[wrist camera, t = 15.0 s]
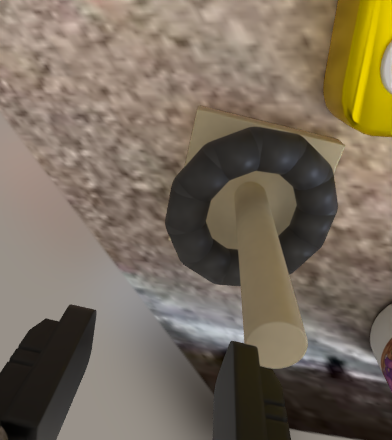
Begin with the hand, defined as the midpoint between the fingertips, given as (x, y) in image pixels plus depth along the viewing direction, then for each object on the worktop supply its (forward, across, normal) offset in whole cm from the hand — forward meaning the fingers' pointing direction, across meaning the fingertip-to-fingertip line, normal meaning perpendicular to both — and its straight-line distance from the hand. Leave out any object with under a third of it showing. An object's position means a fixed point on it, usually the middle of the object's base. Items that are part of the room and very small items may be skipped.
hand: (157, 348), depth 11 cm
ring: (+11, -4, 0) cm, 12 cm away
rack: (+16, -4, 0) cm, 16 cm away
